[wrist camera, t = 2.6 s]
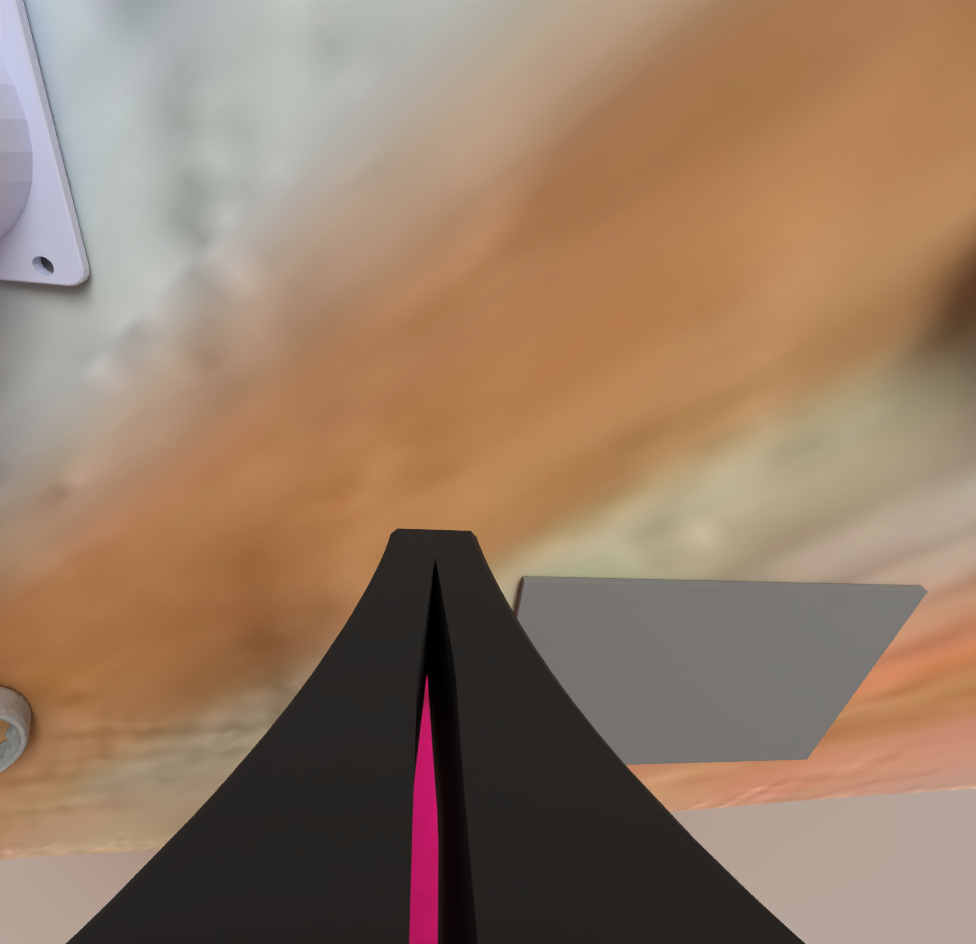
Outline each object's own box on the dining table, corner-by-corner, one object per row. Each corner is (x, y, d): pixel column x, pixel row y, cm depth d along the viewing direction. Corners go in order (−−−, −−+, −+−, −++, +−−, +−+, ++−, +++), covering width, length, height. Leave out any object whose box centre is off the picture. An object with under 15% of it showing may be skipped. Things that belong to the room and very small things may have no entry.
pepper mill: (482, 722, 29) (562, 1562, 12) (343, 730, 28) (214, 1643, 11) (488, 626, 25) (620, 1657, 8) (328, 633, 24) (96, 1792, 7)
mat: (485, 761, 31) (486, 768, 30) (522, 576, 23) (524, 582, 23) (802, 753, 33) (806, 759, 33) (921, 585, 26) (927, 591, 26)
